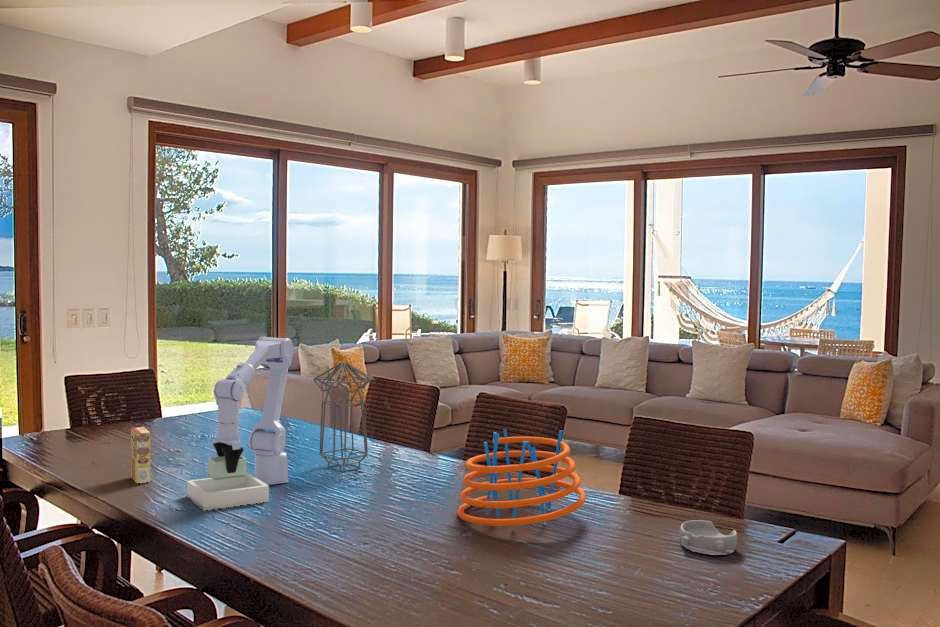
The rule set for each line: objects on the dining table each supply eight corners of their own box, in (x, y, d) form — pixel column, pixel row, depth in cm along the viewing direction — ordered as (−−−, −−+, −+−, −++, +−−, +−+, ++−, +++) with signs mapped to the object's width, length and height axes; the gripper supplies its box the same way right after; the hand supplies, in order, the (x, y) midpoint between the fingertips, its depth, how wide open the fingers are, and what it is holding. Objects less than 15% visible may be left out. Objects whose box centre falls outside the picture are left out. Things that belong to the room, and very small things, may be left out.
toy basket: (500, 550, 196) (492, 452, 196) (436, 520, 227) (429, 435, 226) (613, 520, 213) (606, 430, 212) (539, 495, 244) (533, 416, 243)
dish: (692, 535, 210) (693, 516, 210) (745, 548, 201) (746, 528, 201) (667, 549, 199) (668, 528, 198) (722, 563, 190) (723, 542, 190)
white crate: (248, 488, 241) (249, 473, 240) (268, 501, 227) (269, 485, 227) (186, 496, 230) (186, 480, 230) (203, 511, 217) (203, 494, 217)
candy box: (150, 482, 243) (151, 431, 243) (135, 484, 241) (136, 433, 240) (144, 476, 251) (144, 426, 250) (129, 477, 248) (130, 427, 248)
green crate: (239, 471, 233) (240, 454, 233) (246, 476, 229) (246, 459, 228) (207, 475, 228) (208, 457, 228) (214, 480, 224) (214, 462, 223)
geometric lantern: (336, 476, 257) (335, 366, 256) (310, 467, 269) (310, 362, 268) (377, 468, 268) (377, 362, 266) (351, 460, 280) (350, 358, 278)
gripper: (206, 418, 231) (205, 466, 232) (222, 427, 219) (221, 477, 220) (230, 416, 235) (230, 463, 236) (248, 425, 223) (247, 474, 224)
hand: (227, 470), depth 228 cm, fingers closed on green crate, 6 cm apart
